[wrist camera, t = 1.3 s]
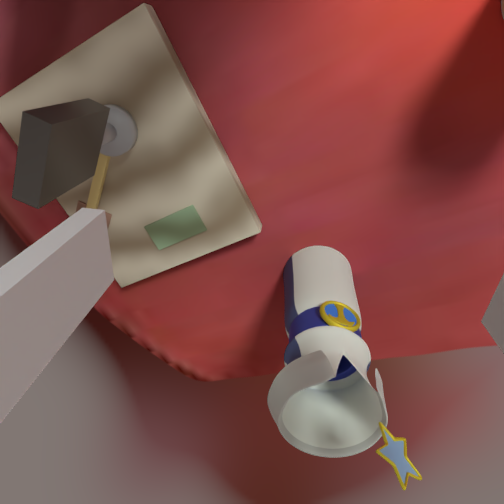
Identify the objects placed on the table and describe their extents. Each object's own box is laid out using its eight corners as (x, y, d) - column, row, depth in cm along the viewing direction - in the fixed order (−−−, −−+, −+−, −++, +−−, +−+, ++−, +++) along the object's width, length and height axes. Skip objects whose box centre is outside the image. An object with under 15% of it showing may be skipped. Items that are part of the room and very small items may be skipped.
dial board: (2, 103, 36) (-14, 105, 34) (152, 5, 31) (142, 2, 29) (128, 278, 45) (120, 288, 43) (262, 224, 40) (260, 233, 38)
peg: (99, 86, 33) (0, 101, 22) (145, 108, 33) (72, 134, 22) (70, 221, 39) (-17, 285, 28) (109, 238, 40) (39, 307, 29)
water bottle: (292, 231, 40) (291, 448, 18) (366, 255, 40) (456, 494, 18) (268, 291, 44) (244, 529, 22) (336, 312, 44) (380, 566, 22)
